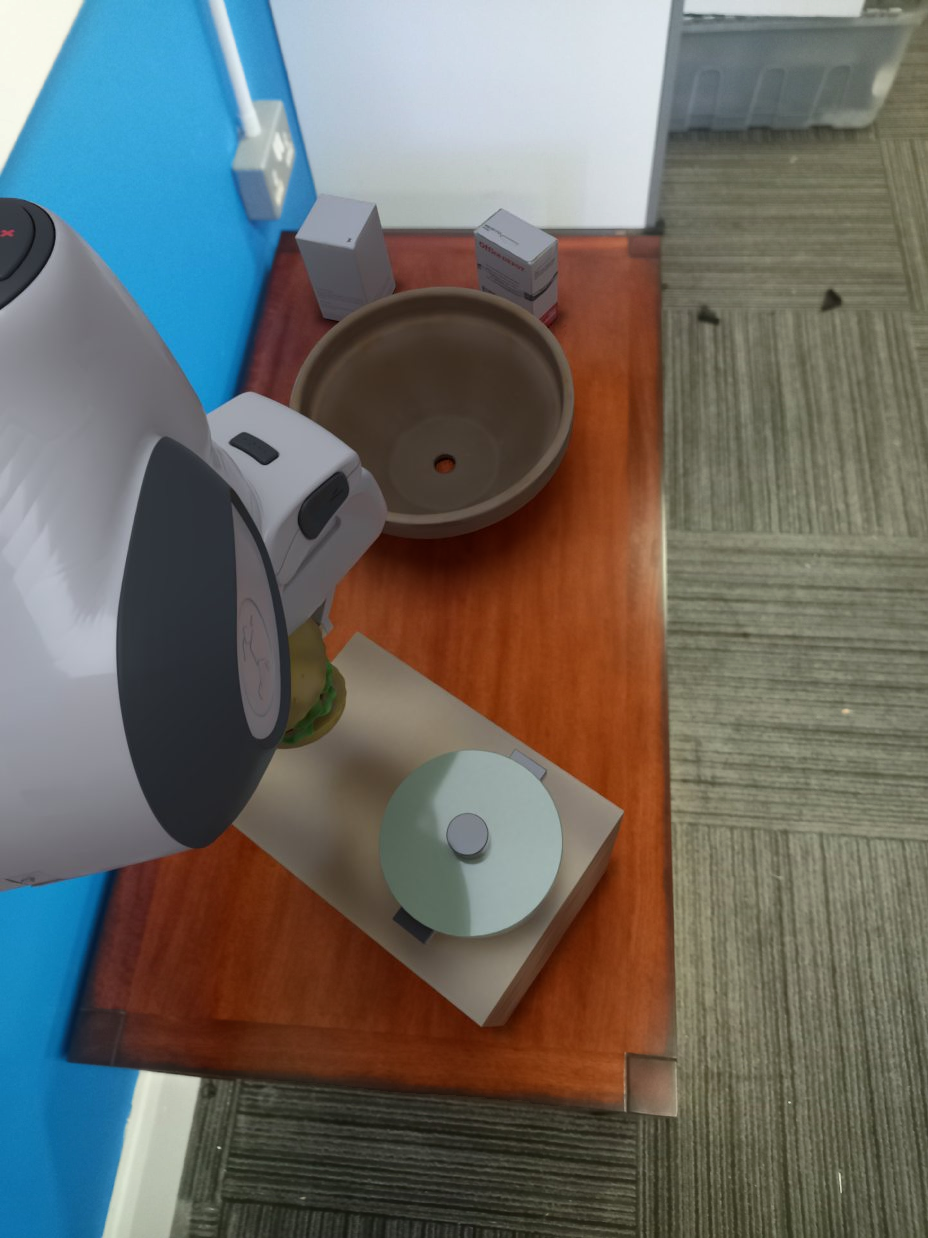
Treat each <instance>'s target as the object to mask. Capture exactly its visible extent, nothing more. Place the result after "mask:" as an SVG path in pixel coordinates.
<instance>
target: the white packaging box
mask: <svg viewBox="0 0 928 1238" xmlns="http://www.w3.org/2000/svg"><path fill="white" fill-rule="evenodd" d="M294 239H295V241H296V245H297V247H298V249H299V253H300V256H301V258H302V261H303V264H304V267H305V269H306V274H307V275H308V278H309V281H310V285H311V287H312V289H313V293H314V296H315V298H316V302H317V304H318V307H319V310H320V312H321V315H322V318H323V319H326V320H331V321H337V322H340V321H341V320H343V319H344V318H345V317H347V316H348V315H350V314H351V313H353V312H355V311H356V310H358V309H360V308H362V307H364V306H365V305H368V304H370V303H372V302H374V301H376V300H379V299H381V298H384V297H387V296H390V295H393V294H394V291H395V290H396V287H397V286H396V281H395V278H394V274H393V269H392V265H391V261H390V255H389V252H388V247H387V243H386V239H385V236H384V231H383V227H382V223H381V218H380V214H379V209H378V206H377V203H376V202H371V201H365V200H360V199H354V198H348V197H342V196H338V195H333V194H332V195H331V194H328V193H327V194H326V193H320V194H319V195H318V197H317V199H316V201H315V202H314V204H313V206H312V208H311V209H310V211H309V213H308V215H307V216H306V218H305V219H304V221H303V223H302V224H301V226H300V228H299V230H298V231H297V233H296V235H295V236H294Z"/></svg>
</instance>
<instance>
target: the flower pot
mask: <svg viewBox="0 0 928 1238" xmlns="http://www.w3.org/2000/svg"><path fill="white" fill-rule="evenodd" d="M574 387H575V386H574V380H573V374H572V370H571V366H570V363H569V361H568V359H567V356H566V354H565V351H564V349H563V347H562V345H561V343H560V342H559V341H558V339H557V338H556V336H555V335H554V334H553V333H552V331H551V330H550V329H549V328H548V327H546V326H545V325H544V324H543V323H542V322H541V321H540V320H539V319H538V318H536V317H535V316H534V315H532V314H531V313H530V312H528V311H527V310H525V309H524V308H522V307H521V306H519V305H517V304H515V303H513V302H511V301H509V300H507V299H505V298H502V297H500V296H496V295H493V294H490V293H487V292H483V291H479V289H473V288H468V287H460V286H430V287H422V288H421V287H420V288H415V289H409V290H405V291H401V292H397V293H393V294H392V295H390V296H387V297H384V298H381V299H379V300H376V301H374V302H372V303H370V304H368V305H365V306H364V307H362V308H360V309H358V310H356V311H355V312H353V313H351V314H350V315H348V316H347V317H345V318H344V319H343V320H341V321H338V323H336V324H335V325H333V327H331V328H330V329H329V330H328V331H327V332H326V333H325V334H324V335H323V336H322V337H321V338H320V339H319V341H318V342H316V344H315V345H314V346H313V348H312V349H311V350H310V352H309V353H308V355H307V357H306V359H305V360H304V362H303V363H302V365H301V367H300V369H299V371H298V373H297V376H296V378H295V381H294V383H293V387H292V389H291V393H290V397H289V404H288V405H289V406H288V408H290V409H292V410H294V411H296V412H298V413H300V414H302V415H303V416H305V417H307V418H309V419H310V420H312V421H314V422H315V423H317V424H318V425H320V426H321V427H323V428H324V429H326V430H327V431H329V432H330V433H332V434H333V435H334V436H336V437H337V438H339V439H340V440H341V441H343V442H344V443H345V444H346V445H348V446H349V447H350V448H351V449H352V450H354V451H355V452H356V453H357V454H358V456H359V458H360V461H361V466H362V467H363V468H365V469H366V470H368V471H369V472H370V473H371V474H372V475H373V477H374V479H375V480H376V482H377V484H378V486H379V488H380V490H381V492H382V494H383V497H384V499H385V502H386V505H387V511H388V514H387V517H386V521H385V524H384V527H383V529H382V532H381V534H384V535H389V536H394V537H398V538H406V539H417V540H433V539H434V540H435V539H445V538H453V537H458V536H462V535H466V534H470V533H474V532H476V531H479V530H482V529H484V528H485V529H486V528H487V527H489V526H493V525H494V524H496V523H499V522H501V521H503V520H504V519H506V518H508V517H511V515H512V514H514V513H516V512H518V511H519V510H520V509H521V508H523V507H524V506H525V505H526V504H528V503H529V502H530V501H531V500H533V499H534V498H535V497H536V496H537V495H538V494H539V493H540V492H541V491H542V489H544V488H545V486H546V485H547V484H548V483H549V482H550V480H551V479H552V478H553V476H554V475H555V474H556V472H557V470H558V468H559V467H560V465H561V463H562V461H563V459H564V457H565V455H566V452H567V451H568V448H569V444H570V440H571V438H572V437H571V436H572V433H573V424H574V415H575V389H574ZM445 458H447V459H451V460H452V461H453V462H454V463H455V465H454V466H453V469H451V470H450V471H447V472H440V471H438V470H437V469H436V464H437V463H438V461H440V460H442V459H445Z"/></svg>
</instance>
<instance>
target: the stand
mask: <svg viewBox="0 0 928 1238" xmlns="http://www.w3.org/2000/svg"><path fill="white" fill-rule="evenodd" d="M330 663H331V664H332V665H334V666H335V667H336V668H337V669H338V670H339V672H340V673H341V674H342V676H343V677H344V679H345V687H346V691H347V695H346V705H345V709H344V711H343V714H342V716H341V717H340V719H339V721H338V723H337V724H336V725H335V726H334V727H333V728H332V730H331V731H330V732H329V733H327V734H326V735H325V736H323V737H322V738H321V739H319V740H317V741H315V742H313V743H311V744H308V745H305V746H302V747H299V748H292V749H276V751H275V753H274V755H273V757H272V759H271V762H270V764H269V765H268V767H267V769H266V771H265V773H264V775H263V777H262V779H261V781H260V783H259V785H258V787H257V788H256V790H255V792H254V793H253V795H252V797H251V798H250V800H249V801H248V803H247V804H246V806H245V807H244V809H243V810H242V811H241V813H240V814H239V815H238V817H237V818H236V819H235V821H234V822H233V823H232V824H231V825H232V826H233V827H234V828H235V829H237V830H238V831H239V832H240V833H241V834H242V835H244V836H245V837H247V838H248V839H249V840H250V841H251V842H253V843H254V844H255V845H256V846H258V848H260V849H262V851H264V852H265V853H266V854H267V855H268V856H269V857H271V858H272V859H273V860H275V861H276V862H277V863H278V864H280V865H281V866H282V867H283V868H284V869H286V870H287V871H288V872H289V873H290V874H292V875H293V876H295V878H297V879H298V880H299V881H300V882H302V883H303V884H304V885H305V886H307V887H308V888H309V889H310V890H312V891H313V892H314V893H315V894H316V895H318V896H319V897H320V898H321V899H322V900H324V901H325V902H326V903H328V904H329V905H330V906H331V907H333V908H334V910H336V911H338V912H339V913H340V914H341V915H342V916H344V917H345V918H346V919H347V920H349V922H351V923H352V924H353V925H354V926H356V927H357V928H358V929H360V930H361V932H363V933H365V934H366V935H367V936H368V937H369V938H370V939H372V940H373V941H374V942H375V943H377V944H378V945H379V946H380V947H382V948H383V949H384V950H386V952H388V953H389V954H390V955H391V956H393V957H394V958H395V959H396V960H398V961H399V962H400V963H401V964H402V965H404V966H405V967H406V968H408V970H410V971H411V972H413V973H414V974H415V975H416V976H417V977H418V978H420V979H421V980H422V981H423V982H424V983H426V984H427V985H428V986H430V987H431V988H432V989H433V990H435V991H436V992H437V993H438V994H440V995H441V996H442V997H443V998H444V999H446V1000H447V1001H448V1002H449V1003H451V1004H452V1006H454V1007H455V1008H457V1009H458V1010H459V1011H460V1012H461V1013H463V1014H464V1015H465V1016H467V1017H468V1018H469V1019H470V1020H471V1021H473V1022H474V1023H475V1024H476V1025H478V1026H479V1027H480V1028H485V1027H488V1028H489V1027H504V1026H505V1025H506V1024H507V1022H508V1021H509V1019H510V1017H511V1016H512V1015H513V1013H514V1011H515V1010H516V1008H517V1007H518V1005H519V1004H520V1002H521V1001H522V999H523V998H524V996H525V995H526V993H527V992H528V991H529V989H530V988H531V985H532V984H533V983H534V981H535V980H536V978H537V977H538V975H539V973H540V972H541V970H542V969H543V968H544V966H545V964H546V963H547V961H548V960H549V959H550V957H551V955H552V954H553V952H554V951H555V949H556V947H557V946H558V944H559V943H560V941H561V940H562V939H563V937H564V936H565V934H566V932H567V931H568V929H569V928H570V926H571V925H572V923H573V922H574V920H575V919H576V917H577V915H578V914H579V913H580V911H581V909H582V908H583V906H584V905H585V904H586V902H587V900H588V899H589V898H590V896H591V894H592V893H593V891H594V890H595V888H596V887H597V885H598V883H599V882H600V881H601V879H602V877H603V876H604V874H605V873H606V872H607V870H608V868H609V864H610V861H611V857H612V854H613V852H614V851H613V850H614V847H615V844H616V840H617V838H618V834H619V831H620V828H621V824H622V821H623V818H624V815H625V812H626V811H625V810H624V809H622V808H621V807H619V806H618V805H616V804H615V803H614V802H612V801H611V800H609V799H608V798H606V797H605V796H603V795H602V794H600V793H599V792H597V791H596V790H594V789H593V788H591V786H590V787H589V786H588V785H587V784H585V783H584V782H583V781H581V780H580V779H578V778H577V777H576V776H573V775H571V774H570V773H569V772H567V771H566V770H565V769H563V768H561V767H560V766H559V765H558V764H556V763H554V762H553V761H551V760H549V759H548V758H546V757H545V756H543V754H541V753H540V752H538V751H537V750H535V749H534V748H532V747H530V746H529V745H528V744H526V743H524V742H523V741H522V740H520V739H518V738H517V737H516V736H514V735H512V734H511V733H510V732H508V731H507V730H505V729H504V728H503V727H500V726H499V725H498V724H496V723H495V722H493V720H490V719H489V718H488V717H486V716H485V715H483V714H481V713H480V712H478V711H477V710H476V709H474V708H473V707H471V706H469V705H468V704H467V703H465V702H464V701H462V700H461V699H460V698H459V697H456V696H455V695H453V694H452V693H450V692H449V691H447V690H446V689H444V688H443V687H442V686H440V685H438V684H437V683H435V682H434V681H432V680H431V679H430V678H428V677H426V676H425V675H424V674H422V673H420V672H419V671H418V670H416V669H415V668H413V667H412V666H410V665H409V664H407V663H406V662H404V661H403V660H401V659H400V658H399V657H397V656H396V655H394V654H392V653H391V652H390V651H388V650H387V649H385V648H384V647H382V646H381V645H379V644H377V642H374V640H372V639H371V638H369V637H367V636H366V635H364V634H363V633H362V632H360V631H358V630H356V631H355V632H354V634H353V635H352V636H351V638H350V639H349V640H348V641H347V642H346V643H345V645H344V646H343V647H342V648H341V650H340V651H339V652H338V653H337V654H336V655H335V657H334V658H333V659H332V661H330ZM515 749H517V750H518V751H520V752H521V753H522V754H524V755H525V756H527V757H528V758H530V759H531V760H533V761H534V762H536V763H537V764H539V765H540V766H542V767H543V768H545V769H546V770H547V776H546V777H545V779H544V780H543V781H542V783H543V785H544V786H545V787H546V789H547V790H548V792H549V794H550V795H551V797H552V799H553V801H554V803H555V805H556V808H557V810H558V813H559V817H560V821H561V825H562V833H563V853H562V860H561V865H560V869H559V872H558V875H557V878H556V880H555V883H554V885H553V887H552V889H551V890H550V893H549V895H548V897H547V899H546V901H545V902H544V904H543V906H542V907H541V908H540V909H539V911H538V912H537V913H536V914H535V915H534V916H533V917H532V918H531V919H530V920H529V921H528V922H527V923H525V924H524V925H523V926H521V927H520V928H518V929H516V930H515V931H513V932H511V933H508V934H506V935H503V936H500V937H496V938H492V939H482V940H479V939H467V938H460V937H455V936H449V935H446V934H443V933H440V932H436V933H435V935H434V936H433V938H432V939H431V941H430V942H429V943H428V945H427V946H426V945H424V944H423V943H421V942H420V941H419V940H418V939H416V938H415V937H414V936H413V935H411V934H410V933H409V932H408V931H406V930H405V929H404V928H403V927H401V926H400V925H399V924H398V923H396V922H395V921H394V920H393V919H392V918H393V917H394V915H395V914H396V913H397V911H398V910H399V909H400V907H401V905H400V904H399V903H398V901H397V900H396V899H395V897H394V895H393V894H392V892H391V891H390V889H389V887H388V884H387V882H386V880H385V877H384V874H383V871H382V868H381V863H380V857H379V833H380V827H381V822H382V818H383V815H384V812H385V810H386V807H387V805H388V803H389V801H390V799H391V797H392V795H393V794H394V792H395V791H396V789H397V788H398V786H399V785H400V784H401V783H402V782H403V781H404V779H405V778H406V777H407V776H408V775H410V774H411V773H412V772H413V771H414V770H415V769H417V768H418V767H419V766H421V765H422V764H424V763H426V762H427V761H429V760H431V759H433V758H435V757H438V756H440V755H443V754H446V753H450V752H454V751H460V750H484V751H491V752H494V753H498V754H501V755H504V756H506V757H510V755H511V754H512V752H513V751H514V750H515Z"/></svg>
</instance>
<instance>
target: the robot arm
mask: <svg viewBox="0 0 928 1238" xmlns="http://www.w3.org/2000/svg"><path fill="white" fill-rule="evenodd" d="M387 514H388V511H387V505H386V502H385V499H384V497H383V494H382V492H381V490H380V488H379V486H378V484H377V482H376V480H375V479H374V477H373V475H372V474H371V473H370V472H369V471H368V470H366V469H365V468H363V467H362V466H361V461H360V458H359V456H358V454H357V453H356V452H355V451H354V450H352V449H351V448H350V447H349V446H348V445H346V444H345V443H344V442H343V441H341V440H340V439H339V438H337V437H336V436H334V435H333V434H332V433H330V432H329V431H327V430H326V429H324V428H323V427H321V426H320V425H318V424H317V423H315V422H314V421H312V420H310V419H309V418H307V417H305V416H303V415H302V414H300V413H298V412H296V411H294V410H292V409H290V408H289V406H286V404H285V405H284V404H283V403H281V402H278V401H276V400H273V399H271V398H269V397H267V396H264V395H262V394H260V393H258V392H254V391H246V392H243V393H240V394H238V395H236V396H235V397H233V398H231V399H230V400H228V401H227V402H225V403H224V404H222V405H220V406H219V407H217V408H214V409H213V410H212V411H210V412H208V413H207V412H206V411H205V408H204V406H203V404H202V402H201V399H200V398H199V396H198V394H197V392H196V390H195V389H194V387H193V386H192V383H191V382H190V380H189V378H188V377H187V375H186V373H185V372H184V370H183V368H182V367H181V365H180V363H179V362H178V360H177V359H176V357H175V355H174V354H173V352H172V351H171V349H170V348H169V346H168V345H167V343H166V341H165V340H164V339H163V337H162V336H161V334H160V333H159V332H158V330H157V328H156V327H155V325H154V324H153V322H152V321H151V320H150V319H149V317H148V316H147V314H146V313H145V312H144V310H143V309H142V307H141V306H140V305H139V303H138V302H137V300H135V297H134V296H133V295H132V294H131V293H130V291H129V290H128V289H127V287H126V286H125V285H124V283H123V282H122V281H121V280H120V279H119V277H118V276H117V275H116V274H115V272H114V271H113V269H111V268H110V266H109V265H108V263H106V262H105V260H104V259H103V258H102V257H101V255H99V253H98V252H97V251H96V250H95V249H94V248H93V247H92V246H91V245H90V244H89V243H88V241H87V240H86V239H85V238H84V237H83V236H82V235H80V233H78V231H77V230H75V229H74V227H73V226H71V224H69V223H68V222H67V221H65V220H64V219H63V218H62V217H60V216H59V215H58V214H56V212H54V211H52V210H50V209H49V208H47V207H45V206H43V205H41V204H39V203H37V202H33V201H30V200H26V199H22V198H17V197H2V196H1V197H0V893H5V892H9V891H13V890H17V889H22V888H26V887H31V888H36V887H37V888H38V887H39V888H40V887H44V886H48V885H53V884H57V883H61V882H66V881H70V880H74V879H78V878H83V877H87V876H91V875H96V874H100V873H105V872H109V871H113V870H117V869H121V868H127V867H129V866H133V865H137V864H141V863H146V862H149V861H153V860H158V859H162V858H165V857H169V856H173V855H176V854H181V853H184V852H187V851H191V850H193V849H194V850H199V849H200V850H201V849H205V848H207V847H209V846H211V845H212V844H214V843H215V841H216V840H218V839H219V838H220V837H221V836H222V835H223V834H224V833H225V832H226V831H227V830H228V829H229V828H230V827H231V825H232V823H233V822H234V821H235V819H236V818H237V817H238V815H239V814H240V813H241V811H242V810H243V809H244V807H245V806H246V804H247V803H248V801H249V800H250V798H251V797H252V795H253V793H254V792H255V790H256V788H257V787H258V785H259V783H260V781H261V779H262V777H263V775H264V773H265V771H266V769H267V767H268V765H269V764H270V762H271V759H272V757H273V755H274V753H275V751H276V749H277V747H278V744H279V742H280V740H281V738H282V736H283V733H284V731H285V728H286V725H287V722H288V717H289V711H290V703H291V665H290V650H289V641H288V636H289V635H291V634H292V633H293V632H294V631H295V630H296V629H297V628H298V627H300V626H301V625H302V624H304V623H305V622H306V621H307V620H308V619H309V617H310V616H311V618H312V619H313V620H314V621H315V622H316V623H317V625H318V626H319V628H320V630H321V633H322V638H323V640H324V639H325V638H326V637H327V636H328V635H329V634H330V633H331V632H332V630H333V629H334V625H333V623H332V621H331V619H330V617H329V616H330V612H331V608H332V604H333V600H334V596H335V592H336V587H337V586H338V585H339V583H340V582H341V581H342V580H343V579H344V577H345V576H346V575H347V574H348V573H349V572H350V571H351V569H353V567H354V566H355V565H356V564H357V563H358V562H359V560H360V559H361V558H362V557H363V555H364V554H365V553H366V552H367V551H368V550H369V548H370V547H371V546H372V545H373V544H374V543H375V542H376V540H377V539H378V538H379V537H380V535H381V534H382V533H381V532H382V529H383V527H384V524H385V521H386V517H387Z"/></svg>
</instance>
